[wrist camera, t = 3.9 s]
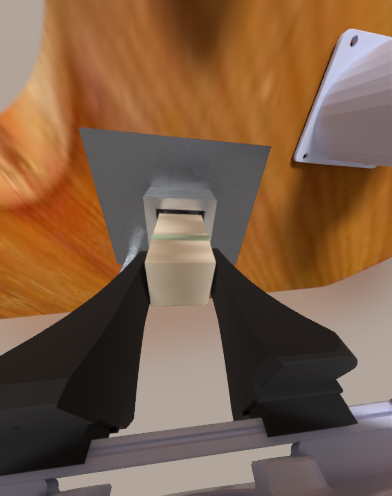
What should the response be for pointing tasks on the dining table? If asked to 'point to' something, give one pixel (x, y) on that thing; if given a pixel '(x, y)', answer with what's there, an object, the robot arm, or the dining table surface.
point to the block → (179, 261)
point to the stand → (172, 186)
